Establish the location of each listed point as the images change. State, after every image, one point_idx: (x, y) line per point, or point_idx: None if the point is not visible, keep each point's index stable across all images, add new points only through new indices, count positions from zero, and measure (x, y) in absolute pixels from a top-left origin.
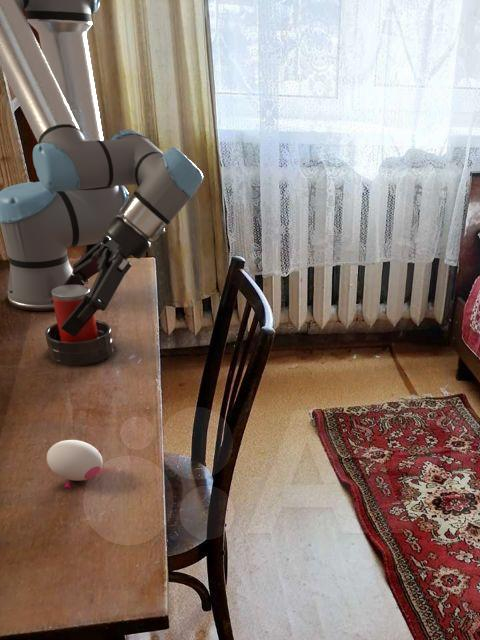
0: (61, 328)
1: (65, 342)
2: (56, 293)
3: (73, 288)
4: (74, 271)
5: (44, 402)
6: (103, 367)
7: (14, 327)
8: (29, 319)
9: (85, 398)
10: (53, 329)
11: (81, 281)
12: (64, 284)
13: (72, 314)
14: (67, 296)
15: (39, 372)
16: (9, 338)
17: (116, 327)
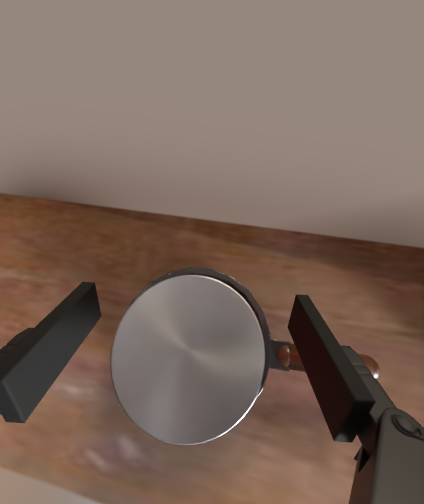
0: (83, 282)
1: (136, 298)
2: (174, 288)
3: (208, 367)
4: (393, 425)
5: (41, 243)
6: (110, 365)
7: (353, 247)
8: (391, 277)
9: (10, 302)
10: (238, 292)
11: (348, 433)
12: (329, 348)
13: (49, 316)
14: (122, 321)
15: (148, 254)
16: (304, 233)
17: (317, 459)
